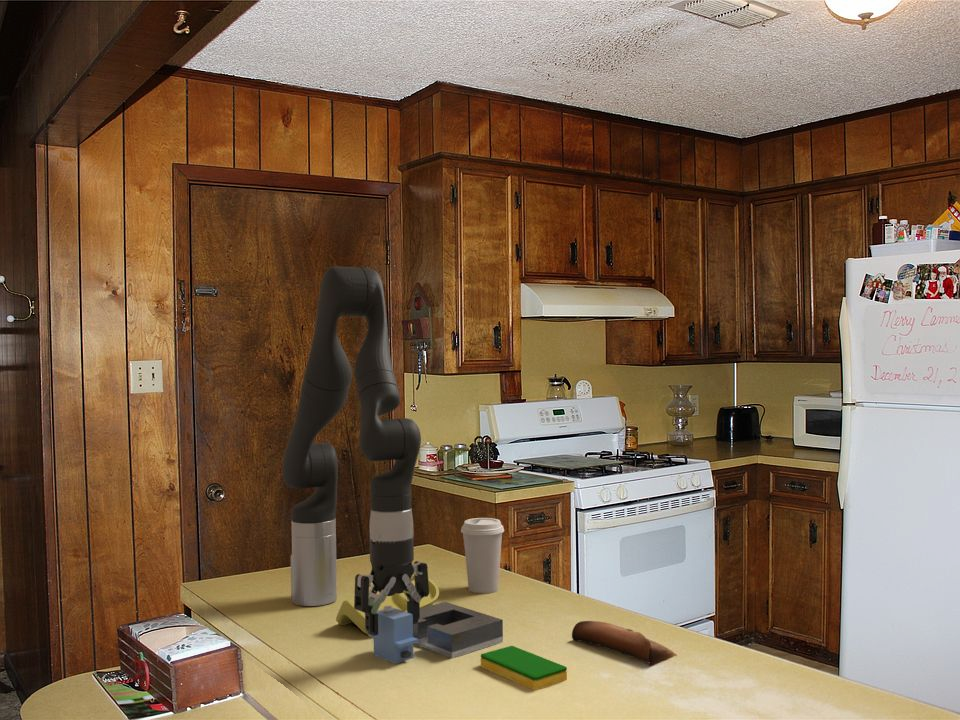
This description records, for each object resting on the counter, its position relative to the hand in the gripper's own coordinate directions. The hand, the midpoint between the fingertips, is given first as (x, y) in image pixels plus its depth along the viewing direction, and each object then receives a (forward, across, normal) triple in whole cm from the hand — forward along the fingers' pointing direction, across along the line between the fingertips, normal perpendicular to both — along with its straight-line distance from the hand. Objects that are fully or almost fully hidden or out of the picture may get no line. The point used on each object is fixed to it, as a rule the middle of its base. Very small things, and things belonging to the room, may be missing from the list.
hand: (393, 628), depth 151 cm
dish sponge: (+5, -10, +21) cm, 24 cm away
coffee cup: (+5, -40, -20) cm, 45 cm away
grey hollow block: (+5, -12, 0) cm, 13 cm away
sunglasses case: (+5, -32, +25) cm, 41 cm away
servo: (+5, 0, 0) cm, 5 cm away
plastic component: (+5, -12, -16) cm, 21 cm away
